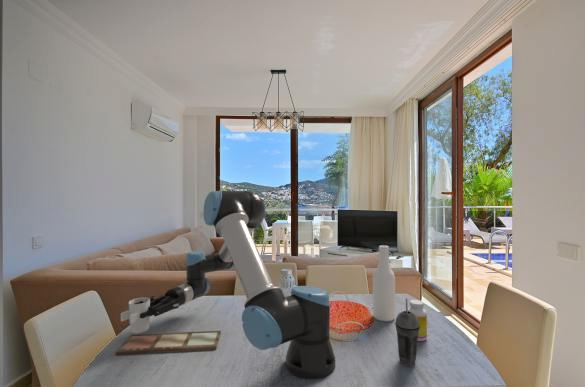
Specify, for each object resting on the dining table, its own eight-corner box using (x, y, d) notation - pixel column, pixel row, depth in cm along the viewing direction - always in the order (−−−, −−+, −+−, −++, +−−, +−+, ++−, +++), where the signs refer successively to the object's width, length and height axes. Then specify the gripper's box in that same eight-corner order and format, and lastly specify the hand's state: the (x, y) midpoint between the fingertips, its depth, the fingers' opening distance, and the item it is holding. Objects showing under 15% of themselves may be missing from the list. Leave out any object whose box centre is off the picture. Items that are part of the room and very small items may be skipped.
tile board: (216, 349, 104) (216, 346, 104) (115, 355, 100) (115, 351, 100) (220, 333, 116) (220, 330, 116) (130, 337, 112) (130, 334, 112)
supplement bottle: (429, 337, 112) (429, 301, 112) (422, 343, 107) (422, 306, 107) (411, 331, 117) (411, 297, 116) (403, 337, 112) (404, 302, 112)
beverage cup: (422, 360, 97) (422, 296, 97) (417, 371, 91) (417, 303, 91) (398, 353, 101) (398, 292, 101) (392, 364, 95) (392, 298, 95)
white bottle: (399, 318, 128) (399, 246, 128) (385, 324, 123) (385, 248, 123) (382, 312, 135) (382, 243, 135) (368, 316, 130) (368, 245, 130)
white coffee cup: (129, 327, 109) (129, 299, 109) (150, 323, 112) (150, 296, 111) (128, 335, 103) (127, 305, 103) (150, 331, 106) (149, 302, 105)
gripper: (195, 308, 120) (143, 334, 99) (163, 302, 127) (109, 325, 105) (194, 289, 120) (143, 311, 99) (163, 284, 127) (108, 303, 105)
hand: (125, 318), depth 102 cm, fingers closed on white coffee cup, 3 cm apart
